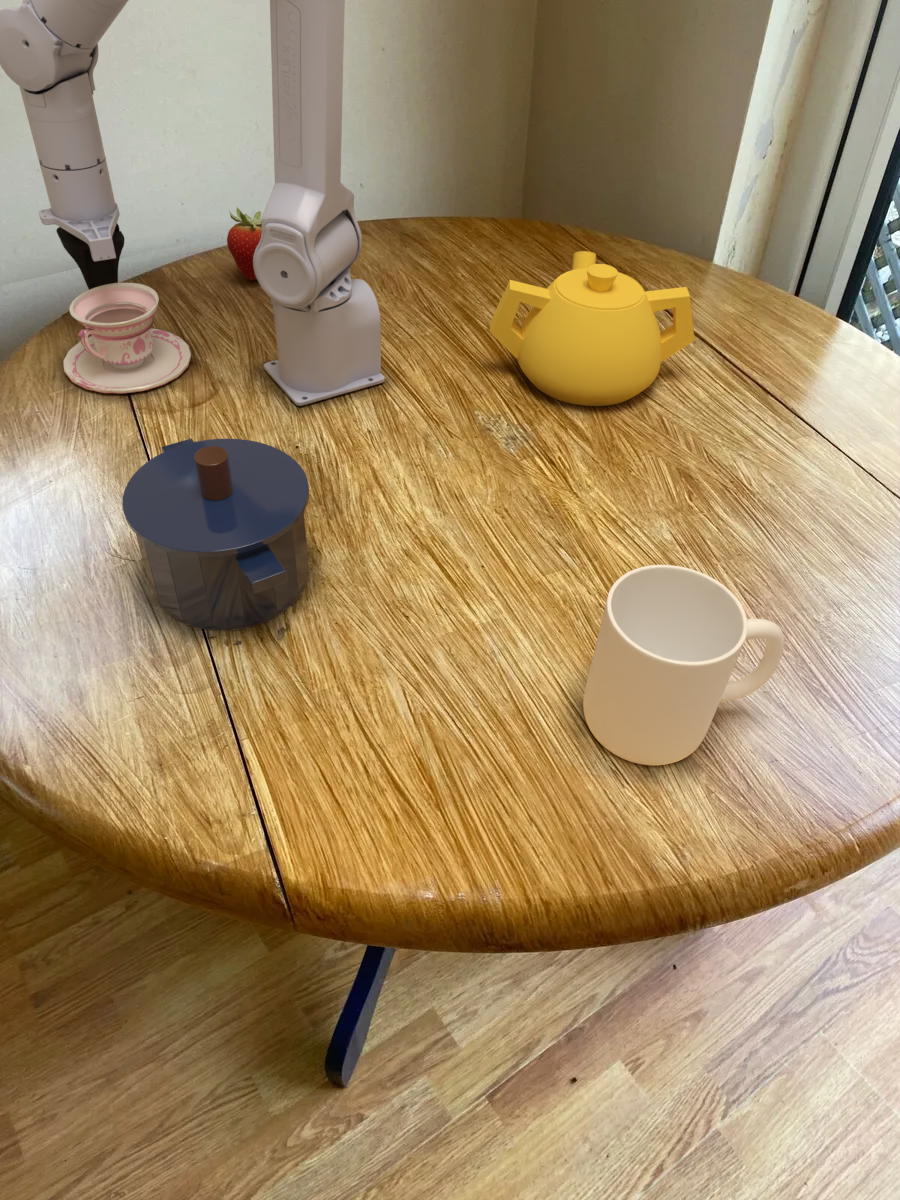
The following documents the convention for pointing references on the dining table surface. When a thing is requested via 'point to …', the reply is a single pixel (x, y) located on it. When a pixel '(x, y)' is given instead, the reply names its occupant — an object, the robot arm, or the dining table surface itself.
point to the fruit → (245, 241)
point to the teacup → (122, 341)
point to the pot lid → (215, 497)
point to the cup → (669, 662)
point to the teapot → (592, 332)
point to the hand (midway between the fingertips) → (105, 300)
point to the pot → (229, 580)
